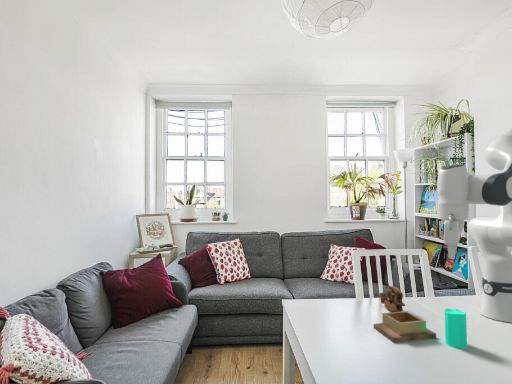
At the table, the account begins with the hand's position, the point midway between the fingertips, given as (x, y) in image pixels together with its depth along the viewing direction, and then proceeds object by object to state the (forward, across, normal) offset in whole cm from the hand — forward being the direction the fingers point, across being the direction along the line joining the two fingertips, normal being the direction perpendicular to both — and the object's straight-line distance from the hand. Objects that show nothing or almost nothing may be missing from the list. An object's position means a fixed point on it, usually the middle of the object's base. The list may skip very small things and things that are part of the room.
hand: (452, 256), depth 104 cm
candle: (+28, 0, -1) cm, 28 cm away
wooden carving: (+29, +22, +23) cm, 43 cm away
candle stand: (+28, 0, +15) cm, 32 cm away
